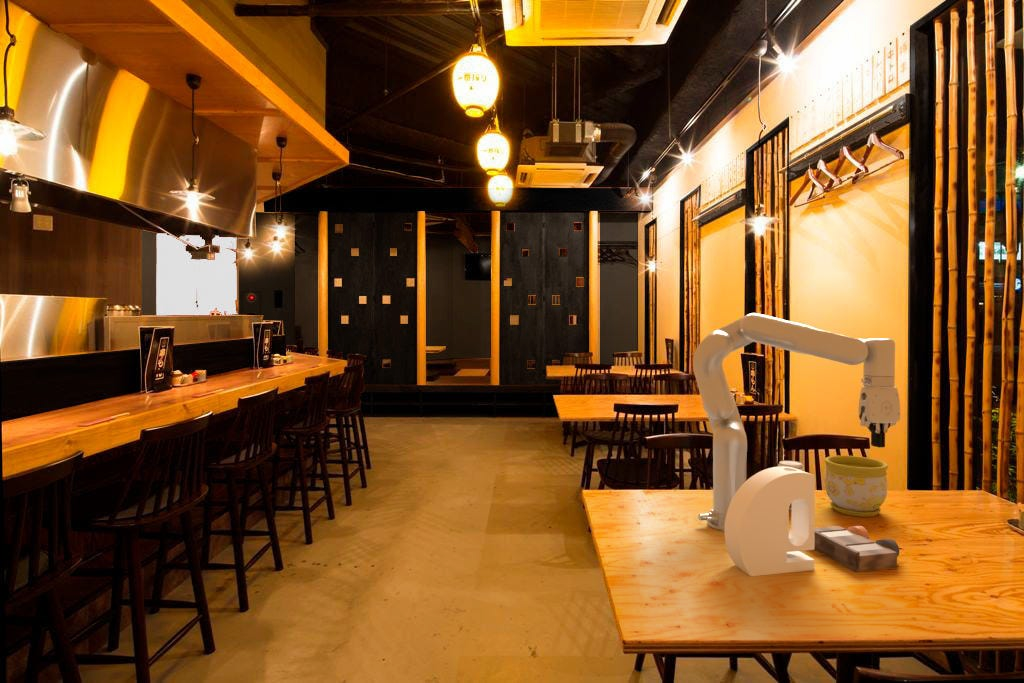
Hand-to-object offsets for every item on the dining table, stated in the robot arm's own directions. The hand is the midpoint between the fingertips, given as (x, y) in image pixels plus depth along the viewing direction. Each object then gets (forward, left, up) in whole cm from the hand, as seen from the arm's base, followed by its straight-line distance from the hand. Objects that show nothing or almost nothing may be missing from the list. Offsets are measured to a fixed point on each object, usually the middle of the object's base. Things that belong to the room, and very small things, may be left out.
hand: (877, 446), depth 166 cm
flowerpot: (+14, +24, -27) cm, 39 cm away
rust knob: (-13, -2, -26) cm, 30 cm away
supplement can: (-4, +32, -27) cm, 42 cm away
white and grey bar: (-13, -12, -27) cm, 32 cm away
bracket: (-41, -10, -27) cm, 51 cm away
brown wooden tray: (-16, -7, -27) cm, 32 cm away
